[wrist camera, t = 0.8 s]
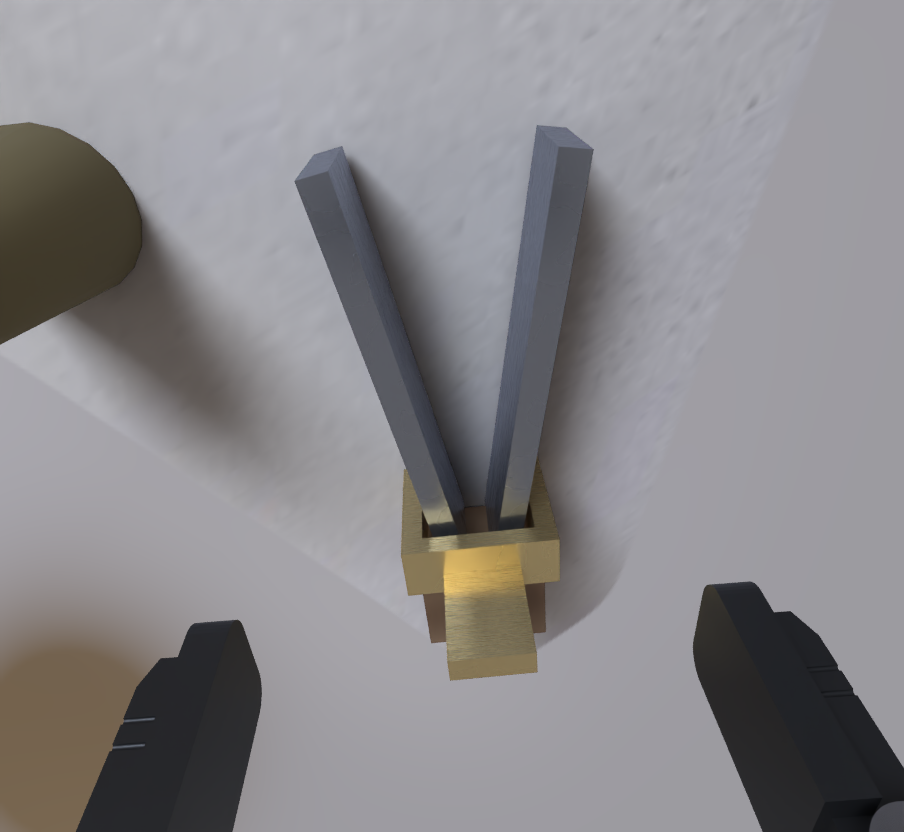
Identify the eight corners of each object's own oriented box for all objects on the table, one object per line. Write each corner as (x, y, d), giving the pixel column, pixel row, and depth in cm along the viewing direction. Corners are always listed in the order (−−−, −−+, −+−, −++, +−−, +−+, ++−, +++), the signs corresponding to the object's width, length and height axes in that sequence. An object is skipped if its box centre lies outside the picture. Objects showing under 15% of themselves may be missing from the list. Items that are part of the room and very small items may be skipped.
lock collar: (538, 494, 30) (581, 668, 22) (410, 507, 30) (406, 684, 22) (537, 456, 29) (582, 624, 21) (403, 469, 29) (398, 642, 21)
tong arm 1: (506, 501, 30) (517, 563, 27) (484, 500, 30) (492, 563, 27) (566, 127, 22) (593, 149, 18) (536, 125, 22) (558, 146, 18)
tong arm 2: (463, 502, 30) (469, 565, 27) (443, 507, 30) (445, 570, 27) (342, 145, 22) (327, 171, 18) (313, 154, 22) (294, 181, 18)
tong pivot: (529, 550, 32) (545, 632, 28) (429, 560, 32) (431, 643, 28) (527, 501, 31) (544, 579, 26) (422, 511, 31) (422, 591, 27)
